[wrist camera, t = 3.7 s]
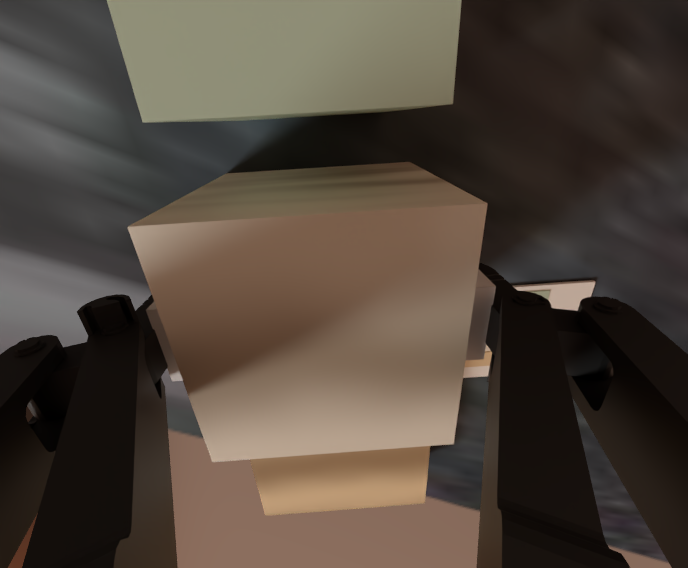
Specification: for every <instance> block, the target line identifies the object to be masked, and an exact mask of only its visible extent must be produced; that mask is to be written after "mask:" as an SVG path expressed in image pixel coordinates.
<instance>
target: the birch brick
mask: <svg viewBox="0 0 688 568" xmlns="http://www.w3.org/2000/svg"><path fill="white" fill-rule="evenodd" d="M487 204H488V203H486V202H484V201H482V200H480V199H479V198H477V197H475V196H473V195H471V194H469V193H467V192H465V191H463V190H462V189H460V188H458V187H456V186H454V185H452V184H450V183H448V182H446V181H445V180H443V179H441V178H439V177H437V176H435V175H433V174H431V173H430V172H428V171H426V170H424V169H422V168H420V167H418V166H416V165H414V164H413V163H411V162H399V163H383V164H368V165H352V166H336V167H320V168H304V169H289V170H273V171H257V172H241V173H226V174H225V175H223V176H221V177H219V178H217V179H215V180H213V181H212V182H210V183H208V184H206V185H204V186H202V187H200V188H199V189H197V190H195V191H193V192H191V193H189V194H187V195H186V196H184V197H182V198H180V199H178V200H176V201H174V202H173V203H171V204H169V205H167V206H165V207H163V208H161V209H160V210H158V211H156V212H154V213H152V214H150V215H148V216H147V217H145V218H143V219H141V220H139V221H137V222H135V223H134V224H132V225H130V226H128V230H129V233H130V235H131V238H132V241H133V244H134V246H135V249H136V252H137V255H138V258H139V260H140V263H141V266H142V269H143V271H144V274H145V277H146V280H147V282H148V285H149V288H150V291H151V294H152V296H153V299H154V302H155V305H156V307H157V310H158V313H159V316H160V318H161V321H162V324H163V327H164V330H165V332H166V335H167V338H168V341H169V343H170V346H171V349H172V352H173V354H174V357H175V360H176V363H177V366H178V368H179V371H180V374H181V377H182V379H183V382H184V385H185V388H186V390H187V393H188V396H189V399H190V402H191V404H192V407H193V410H194V413H195V415H196V418H197V421H198V424H199V426H200V429H201V432H202V435H203V438H204V440H205V443H206V446H207V449H208V451H209V454H210V457H211V460H212V462H222V461H235V460H249V459H262V458H276V457H289V456H302V455H316V454H329V453H342V452H355V451H369V450H382V449H395V448H409V447H422V446H435V445H449V444H454V438H455V431H456V424H457V417H458V409H459V402H460V395H461V388H462V381H463V374H464V367H465V360H466V353H467V346H468V339H469V332H470V325H471V317H472V310H473V303H474V296H475V289H476V282H477V275H478V268H479V261H480V254H481V247H482V240H483V233H484V225H485V218H486V211H487Z"/></svg>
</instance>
